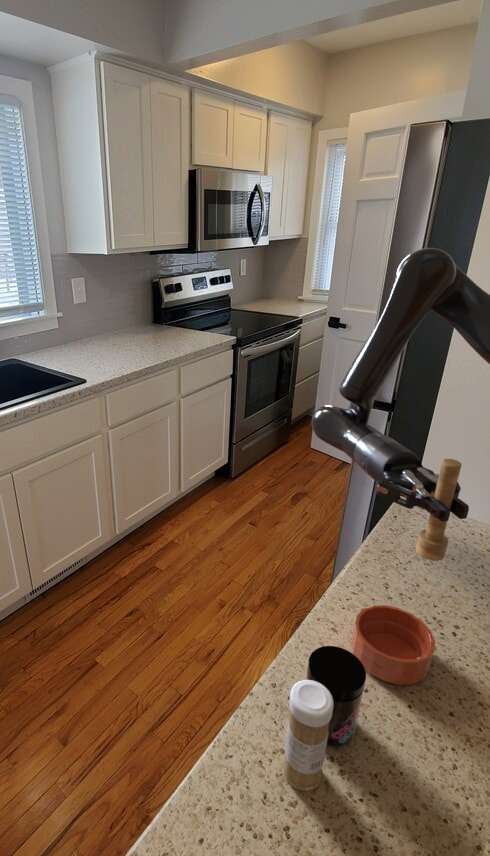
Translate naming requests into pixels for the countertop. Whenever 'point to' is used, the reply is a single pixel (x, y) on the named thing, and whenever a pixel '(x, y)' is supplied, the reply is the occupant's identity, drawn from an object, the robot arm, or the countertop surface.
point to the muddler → (433, 537)
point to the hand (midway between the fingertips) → (456, 514)
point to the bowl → (393, 644)
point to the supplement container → (339, 689)
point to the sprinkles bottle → (307, 734)
